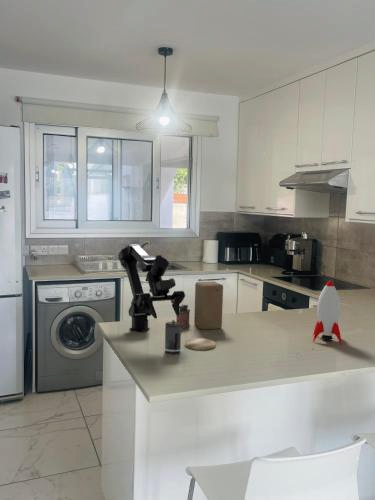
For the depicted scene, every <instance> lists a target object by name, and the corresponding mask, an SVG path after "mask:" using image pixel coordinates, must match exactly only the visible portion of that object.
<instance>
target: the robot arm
mask: <svg viewBox="0 0 375 500" xmlns="http://www.w3.org/2000/svg"><path fill="white" fill-rule="evenodd" d="M117 258H118V261H119V262H120V265H121V266H122V267H123V269H125V270H126V274H127V278H128V282H129V285H130V290H131V294H132V299H131V303H130V307H129V309H128V310H127V311H128V316H129V317H131V327H129V329H128V330H129V331H135V332H139V333H142V332H144V331H147V330H150V328H151V327H149V320H148V317H150V316H152V317H153V318H154V319H155V320H156V319H157V318H158V316H157V312H156V309H155V307H154V303H153V302H166V301H170V302H171V307H172V309H173V310H174V313H175V315H176V318H177V317H178V316H179V310H180V309H179V306H180V304H182V302H183V301H184V299H185V297H186V294H185V292H184V290H174V291H173V293H172V294H170V292H171V291H170V289H173V288H174V287H175V286H176V280H175V279H174V277H173V278H169V279H163V278H162V277H163V276H164V275H165V274H166V271H167V269H168V267H169V266H170V263H169V261H168V260H167V259H166V258H164V257H162V254H157V255H156V256H154V255H153V256H152V255H149V254H148V253H147V252H146V251H145V250H144V249H143V248H142V246H141V245H140V244H138V243H137V244H135V243H133V244H128V245H127V246H126V247H124V248H122V249H121V250H120V251H119V253H118V257H117ZM138 263H139V269H140V271H141V272H142V273H147V274H146V277H145V282H147V283H148V286H149V290H148V291H149V292H144V290H143V285H142V281H141V279H140V275H139V271H138V268H137V264H138Z"/></svg>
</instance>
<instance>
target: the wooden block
mask: <svg viewBox="0 0 375 500" xmlns="http://www.w3.org/2000/svg"><path fill="white" fill-rule="evenodd" d="M194 287H195V288H194V289H195V290H194V317H193V319H194V323H193V324H194V326H196V327H198V328H200V330H204V331H206V330H207V331H208V330H217V329H221V328H222V327H223V307H224V306H223V302H224V301H223V300H224V285H223V284H222V283H221V284H220V283H218V282H216V281H198V282H197V281H196V282H195V285H194Z"/></svg>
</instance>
